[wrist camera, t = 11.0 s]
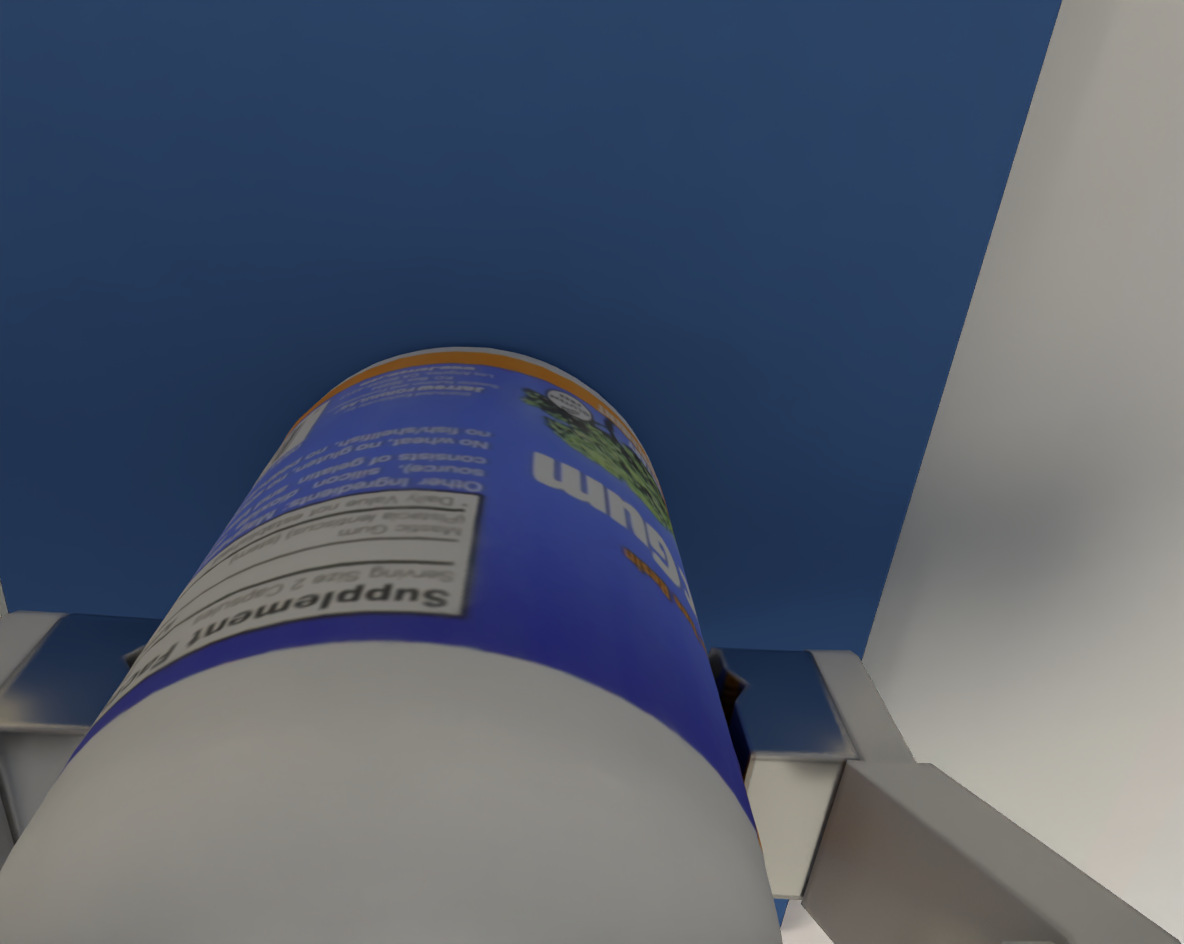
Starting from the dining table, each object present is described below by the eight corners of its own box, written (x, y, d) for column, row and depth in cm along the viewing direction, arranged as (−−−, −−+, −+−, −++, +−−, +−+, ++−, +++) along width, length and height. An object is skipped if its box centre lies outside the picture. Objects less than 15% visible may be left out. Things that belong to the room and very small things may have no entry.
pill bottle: (707, 599, 13) (1072, 1744, 4) (386, 711, 13) (115, 1923, 5) (578, 268, 10) (805, 1312, 2) (195, 420, 11) (-1064, 1778, 2)
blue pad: (106, 930, 16) (92, 960, 16) (-234, -550, 7) (-294, -599, 7) (763, 936, 17) (770, 964, 17) (1131, -319, 9) (1169, -343, 8)
